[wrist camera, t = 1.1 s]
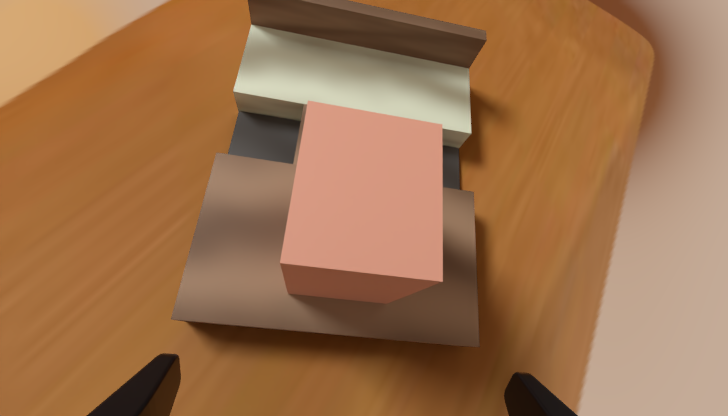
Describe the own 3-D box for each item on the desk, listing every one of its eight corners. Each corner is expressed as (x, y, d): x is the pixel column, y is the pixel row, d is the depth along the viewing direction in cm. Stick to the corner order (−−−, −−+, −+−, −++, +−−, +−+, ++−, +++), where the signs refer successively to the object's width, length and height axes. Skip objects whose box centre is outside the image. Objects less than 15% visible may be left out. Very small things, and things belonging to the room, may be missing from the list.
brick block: (386, 303, 21) (442, 281, 13) (287, 293, 20) (279, 263, 12) (392, 199, 24) (442, 124, 15) (304, 186, 23) (307, 100, 15)
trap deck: (462, 346, 24) (506, 348, 18) (184, 321, 21) (149, 315, 16) (456, 79, 32) (485, 30, 27) (257, 40, 30) (248, -22, 24)
